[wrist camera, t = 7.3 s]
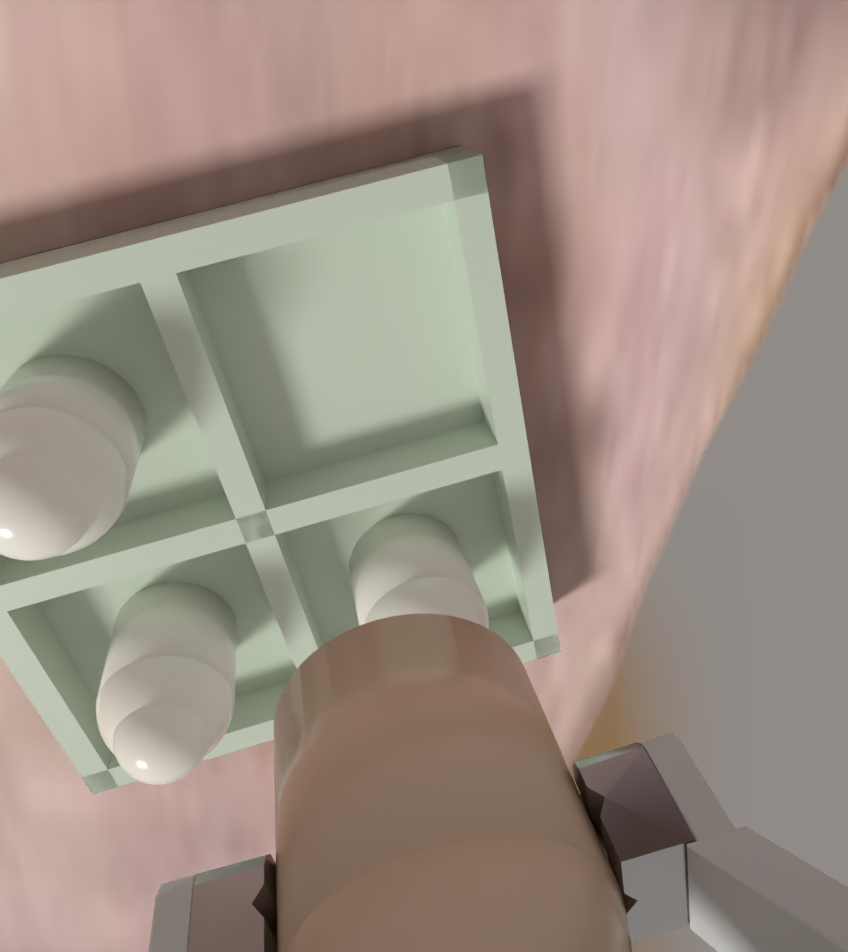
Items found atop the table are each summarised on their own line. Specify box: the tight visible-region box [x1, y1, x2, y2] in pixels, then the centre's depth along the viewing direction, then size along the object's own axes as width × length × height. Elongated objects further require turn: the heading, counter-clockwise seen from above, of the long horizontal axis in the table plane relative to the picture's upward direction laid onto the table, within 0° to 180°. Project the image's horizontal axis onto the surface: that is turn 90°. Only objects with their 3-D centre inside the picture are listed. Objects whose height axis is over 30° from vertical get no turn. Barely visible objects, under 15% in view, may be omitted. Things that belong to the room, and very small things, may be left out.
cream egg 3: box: [349, 514, 489, 629], centre depth 27 cm, size 4×4×7 cm
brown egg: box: [274, 613, 632, 952], centre depth 10 cm, size 4×4×7 cm
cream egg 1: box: [0, 355, 146, 561], centre depth 22 cm, size 4×4×7 cm
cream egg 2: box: [96, 582, 237, 785], centre depth 26 cm, size 4×4×7 cm
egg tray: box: [0, 146, 561, 794], centre depth 26 cm, size 19×19×2 cm
